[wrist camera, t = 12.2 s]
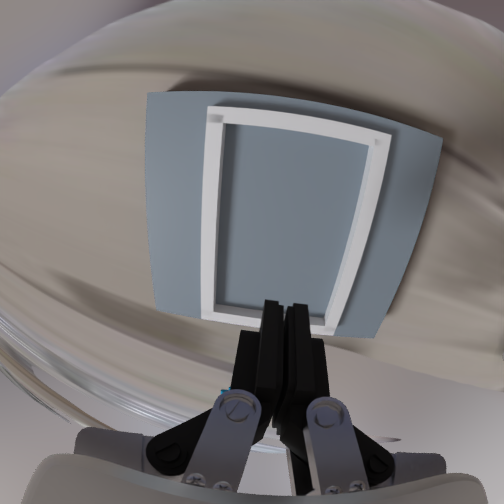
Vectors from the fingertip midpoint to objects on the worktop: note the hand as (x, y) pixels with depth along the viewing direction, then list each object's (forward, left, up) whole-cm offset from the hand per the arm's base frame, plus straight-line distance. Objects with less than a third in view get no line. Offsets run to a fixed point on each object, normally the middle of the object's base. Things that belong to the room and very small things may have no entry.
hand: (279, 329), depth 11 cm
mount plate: (0, 0, -12) cm, 12 cm away
